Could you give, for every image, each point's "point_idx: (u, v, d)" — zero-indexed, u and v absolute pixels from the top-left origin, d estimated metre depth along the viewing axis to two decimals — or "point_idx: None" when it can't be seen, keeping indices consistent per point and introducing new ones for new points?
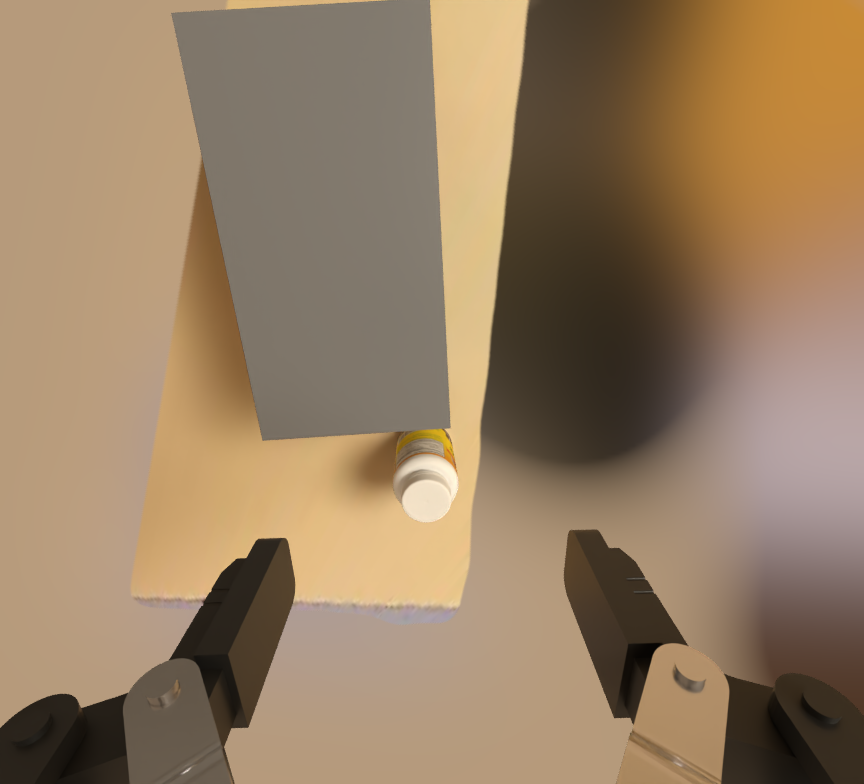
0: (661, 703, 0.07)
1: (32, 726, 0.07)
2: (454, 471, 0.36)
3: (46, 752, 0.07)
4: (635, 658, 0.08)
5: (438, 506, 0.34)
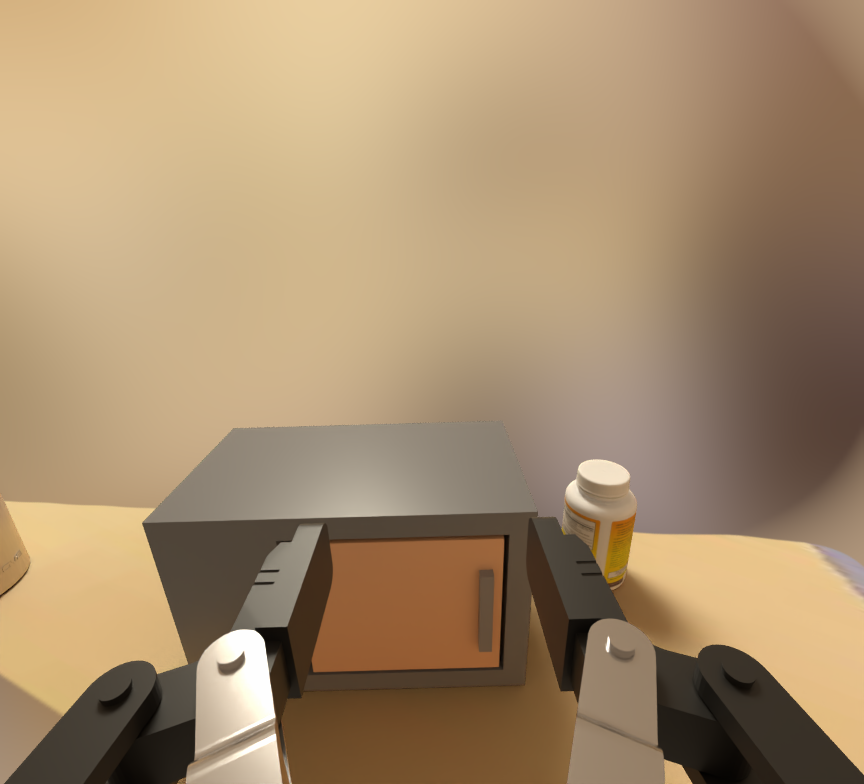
0: (600, 678, 0.08)
1: (115, 688, 0.08)
2: None
3: (132, 711, 0.07)
4: (576, 633, 0.09)
5: (605, 465, 0.35)
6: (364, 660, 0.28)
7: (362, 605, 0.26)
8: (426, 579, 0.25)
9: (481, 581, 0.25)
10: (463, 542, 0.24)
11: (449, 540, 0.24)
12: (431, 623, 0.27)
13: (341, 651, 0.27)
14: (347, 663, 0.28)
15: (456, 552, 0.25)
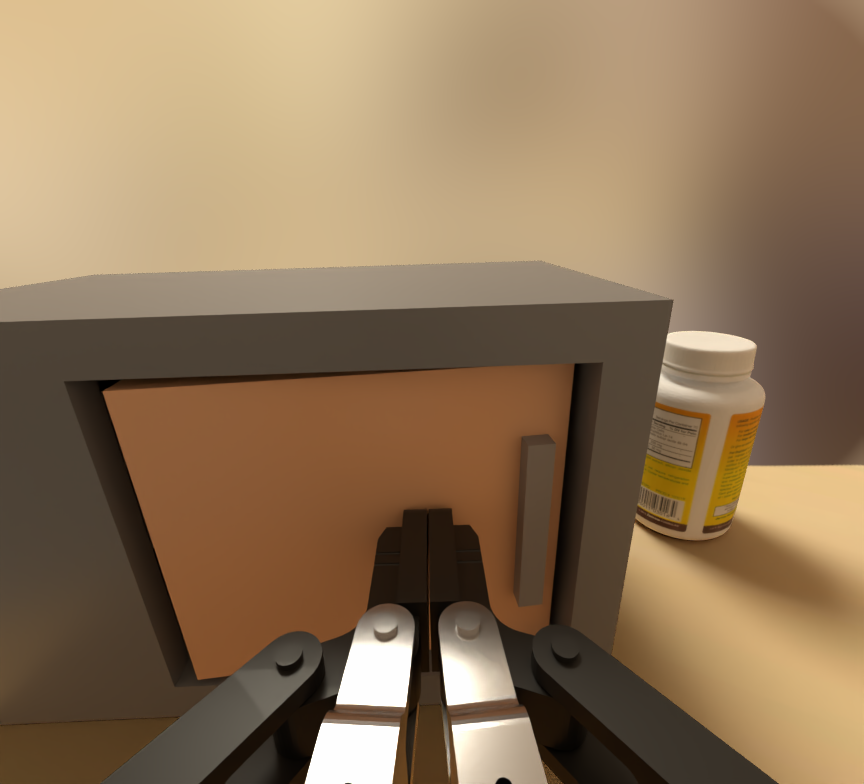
0: (458, 666, 0.08)
1: (289, 656, 0.08)
2: None
3: (309, 676, 0.08)
4: (438, 615, 0.10)
5: (706, 335, 0.22)
6: None
7: (284, 531, 0.13)
8: (416, 463, 0.12)
9: (529, 455, 0.12)
10: (493, 371, 0.12)
11: (463, 368, 0.12)
12: None
13: (250, 632, 0.14)
14: None
15: (477, 397, 0.12)
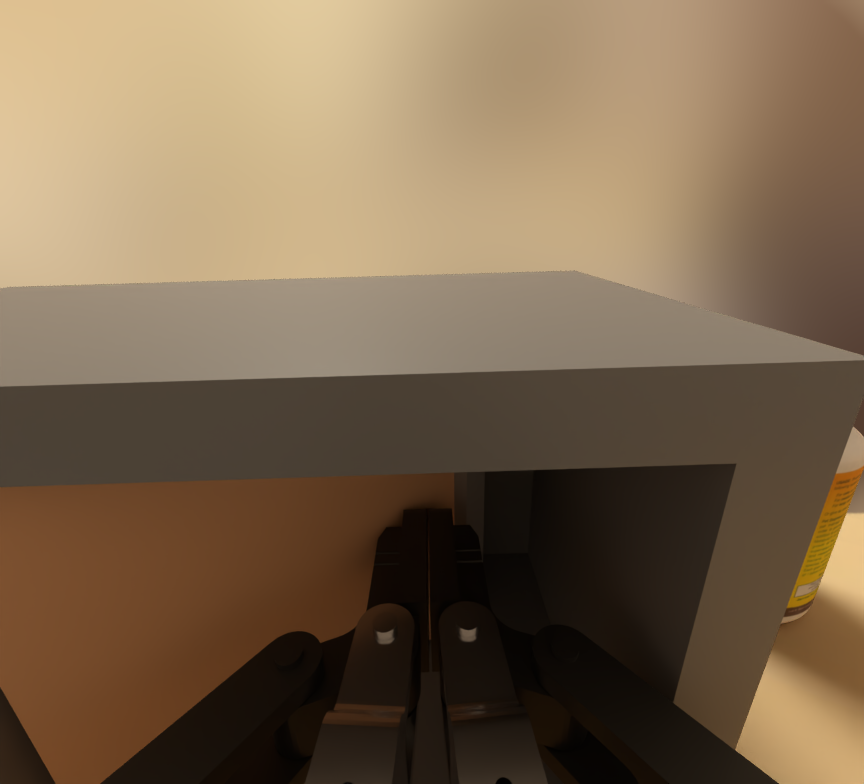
0: (459, 665, 0.08)
1: (289, 655, 0.08)
2: None
3: (309, 676, 0.08)
4: (438, 615, 0.10)
5: None
6: None
7: (227, 609, 0.10)
8: (368, 479, 0.12)
9: None
10: None
11: None
12: None
13: None
14: None
15: None
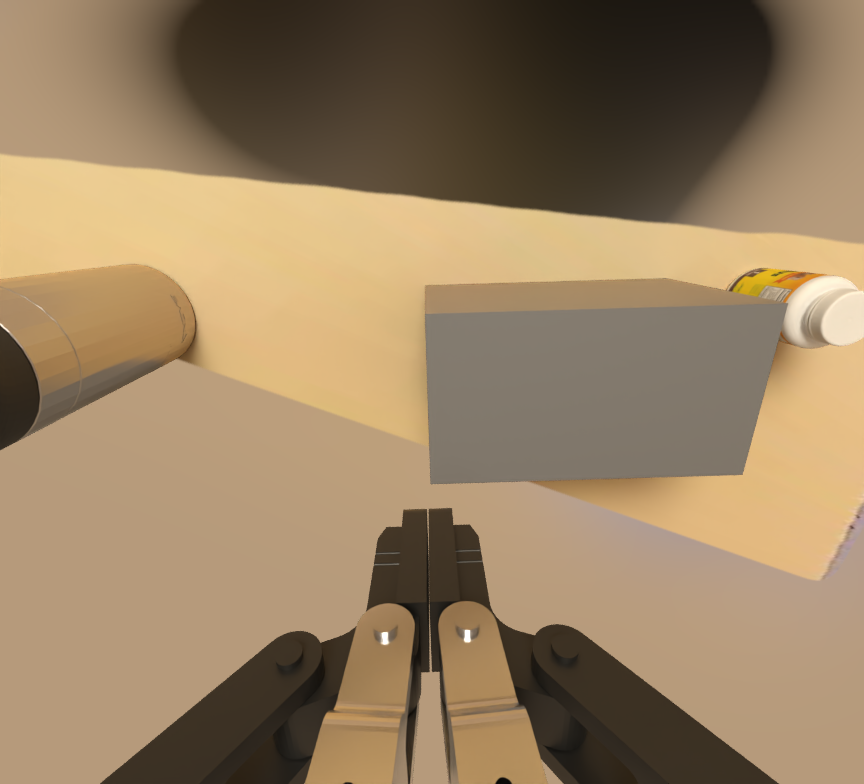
0: (459, 665, 0.08)
1: (289, 655, 0.08)
2: (815, 280, 0.32)
3: (309, 676, 0.08)
4: (437, 615, 0.10)
5: (862, 306, 0.30)
6: None
7: None
8: None
9: None
10: None
11: None
12: None
13: None
14: None
15: None
